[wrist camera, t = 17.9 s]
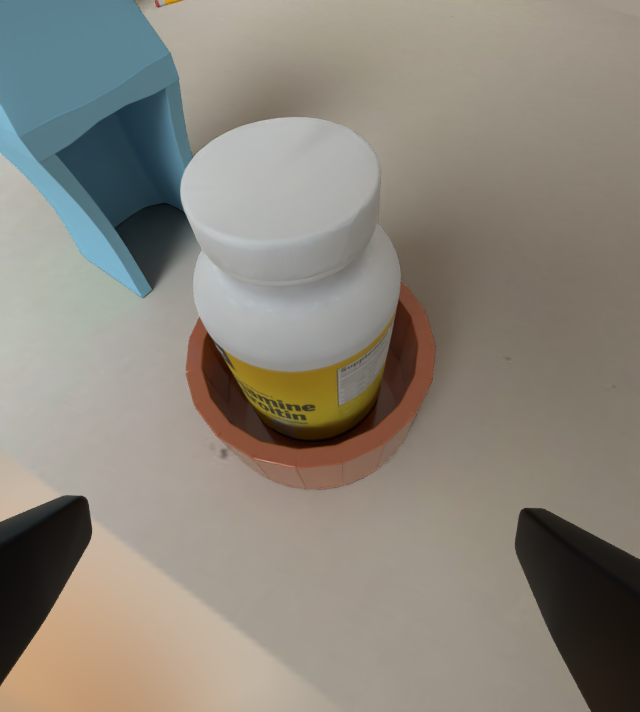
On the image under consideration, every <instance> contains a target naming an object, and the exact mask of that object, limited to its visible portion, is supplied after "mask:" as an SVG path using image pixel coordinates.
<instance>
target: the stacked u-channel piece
mask: <svg viewBox="0 0 640 712" xmlns="http://www.w3.org/2000/svg"><path fill="white" fill-rule="evenodd" d="M0 153H1V154H2V155H3V156H5V157H6V158H7V159H8V160H9V161H10V162H11V163H12V164H13V165H14V166H15V167H16V168H17V169H18V170H19V171H20V172H21V173H23V174H24V175H25V176H26V177H27V179H28V180H29V181H30V182H31V183H32V184H33V185H34V186H35V187H36V188H37V189H38V190H39V191H40V192H41V194H42V195H43V196H44V197H45V199H46V200H47V201H48V202H49V204H50V205H51V206H52V207H53V209H54V210H55V211H56V213H57V214H58V216H59V217H60V219H61V220H62V222H63V223H64V225H65V226H66V228H67V230H68V231H69V233H70V235H71V236H72V238H73V240H74V242H75V244H76V245H77V247H78V249H79V251H80V252H81V254H82V255H83V256H84V257H85V258H87V259H88V260H89V261H91V262H92V263H93V264H95V265H96V266H98V267H99V268H100V269H102V270H103V271H105V272H106V273H108V274H109V275H110V276H112V277H113V278H115V279H116V280H118V281H119V282H120V283H122V284H123V285H125V286H126V287H127V288H129V289H130V290H132V291H133V292H135V293H136V294H137V295H139V296H140V297H142V298H143V297H144V296H146V295H147V294H148V293H149V292H150V291H152V289H151V287H150V285H149V284H148V282H147V280H146V279H145V277H144V275H143V273H142V272H141V270H140V268H139V267H138V265H137V263H136V262H135V260H134V258H133V257H132V255H131V254H130V252H129V250H128V249H127V247H126V246H125V244H124V242H123V241H122V239H121V238H120V236H119V235H118V233H117V232H116V230H115V229H114V228H115V227H116V226H118V225H119V224H120V223H122V222H123V221H124V220H126V219H127V218H129V217H130V216H131V215H133V214H134V213H136V212H137V211H139V210H141V209H143V208H145V207H147V206H151V205H155V204H160V203H168V204H170V205H172V206H174V207H176V208H178V209H180V210H182V211H183V212H185V211H184V208H183V205H182V202H181V194H180V187H181V179H182V177H183V174H184V172H185V169H186V167H187V166H188V164H189V163H190V161H191V160H192V159H193V156H192V153H191V149H190V145H189V141H188V136H187V132H186V126H185V120H184V114H183V107H182V99H181V92H180V84H179V76H178V73H177V70H176V67H175V65H174V62H173V59H172V56H171V53H170V52H169V50H168V49H167V48H166V46H165V45H164V43H163V42H162V40H161V39H160V37H159V36H158V35H157V33H156V32H155V30H154V29H153V27H152V26H151V25H150V23H149V22H148V20H147V19H146V17H145V16H144V14H143V13H142V12H141V10H140V8H139V7H138V5H137V4H136V2H135V1H134V0H0Z"/></svg>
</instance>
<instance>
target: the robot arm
mask: <svg viewBox="0 0 640 712" xmlns="http://www.w3.org/2000/svg"><path fill="white" fill-rule="evenodd" d="M91 535H92V525H91V518H90V511H89V504H88V500H87V499H86V498H85V497H84V496H72V495H66V496H61V497H59V498H57V499H54V500H52V501H49V502H47V503H45V504H42V505H40V506H37V507H35V508H32V509H30V510H28V511H26V512H23V513H21V514H18V515H16V516H13V517H11V518H9V519H6V520H4V521H1V522H0V686H1V684H2V683H3V681H4V680H5V678H6V677H7V675H8V674H9V672H10V671H11V670H12V668H13V667H14V665H15V664H16V662H17V661H18V659H19V658H20V656H21V655H22V653H23V652H24V650H25V649H26V648H27V646H28V644H29V643H30V642H31V640H32V639H33V637H34V636H35V634H36V633H37V631H38V630H39V628H40V627H41V625H42V624H43V622H44V621H45V619H46V617H47V616H48V614H49V612H50V611H51V609H52V607H53V606H54V604H55V602H56V600H57V599H58V597H59V595H60V593H61V592H62V590H63V588H64V586H65V584H66V583H67V581H68V579H69V578H70V576H71V574H72V572H73V571H74V569H75V567H76V565H77V563H78V562H79V560H80V558H81V556H82V554H83V553H84V551H85V549H86V548H87V546H88V544H89V542H90V539H91ZM515 550H516V554H517V557H518V559H519V562H520V564H521V566H522V569H523V571H524V573H525V576H526V578H527V580H528V583H529V585H530V588H531V590H532V592H533V595H534V597H535V599H536V602H537V604H538V607H539V609H540V611H541V614H542V616H543V618H544V621H545V623H546V625H547V627H548V630H549V632H550V634H551V636H552V638H553V640H554V642H555V644H556V646H557V648H558V650H559V652H560V654H561V656H562V658H563V660H564V661H565V663H566V665H567V667H568V669H569V671H570V673H571V675H572V676H573V678H574V680H575V682H576V684H577V686H578V688H579V690H580V692H581V693H582V695H583V697H584V699H585V701H586V703H587V705H588V707H589V709H590V710H591V712H640V559H638V558H636V557H634V556H632V555H630V554H629V553H627V552H625V551H623V550H621V549H619V548H617V547H615V546H613V545H612V544H610V543H608V542H606V541H604V540H602V539H600V538H598V537H596V536H595V535H593V534H591V533H589V532H587V531H585V530H583V529H581V528H579V527H578V526H576V525H574V524H572V523H570V522H568V521H566V520H564V519H563V518H561V517H559V516H557V515H555V514H553V513H551V512H549V511H547V510H545V509H542V508H524V509H522V510H521V512H520V514H519V519H518V526H517V532H516V538H515Z"/></svg>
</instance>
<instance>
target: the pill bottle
mask: <svg viewBox="0 0 640 712" xmlns="http://www.w3.org/2000/svg"><path fill="white" fill-rule="evenodd" d="M380 183H381V170H380V165H379V161H378V158H377V155H376V153H375V152H374V150H373V148H372V147H371V146H370V144H368V143H367V141H366V140H365V139H364V138H362V137H361V136H360V135H359V134H357V133H355V132H354V131H352V130H350V129H349V128H347V127H344V126H342V125H340V124H337V123H333V122H330V121H326V120H322V119H317V118H309V117H284V118H275V119H268V120H262V121H258V122H254V123H250V124H246V125H243V126H240V127H237V128H235V129H233V130H230V131H228V132H226V133H224V134H222V135H221V136H219V137H217V138H215V139H214V140H212V141H211V142H209V143H208V144H207V145H206V146H205V147H203V148H202V149H201V150H200V151H199V152H198V153H197V154H196V155H195V156H194V157H193V159H192V160H191V161H190V163H189V164H188V166H187V167H186V169H185V172H184V174H183V177H182V179H181V187H180V194H181V202H182V205H183V208H184V211H185V213H186V216H187V218H188V220H189V223H190V225H191V227H192V230H193V232H194V234H195V237H196V239H197V242H198V243H199V245H200V247H201V248H202V250H201V252H200V254H199V256H198V259H197V263H196V266H195V271H194V277H193V295H194V300H195V305H196V308H197V311H198V314H199V316H200V319H201V321H202V323H203V325H204V326H205V328H206V330H207V332H208V334H209V335H210V337H211V339H212V340H213V342H214V343H215V345H216V347H217V349H218V350H219V352H220V353H221V355H222V356H223V358H224V360H225V361H226V363H227V365H228V366H229V368H230V370H231V371H232V373H233V375H234V376H235V378H236V380H237V382H238V383H239V385H240V387H241V388H242V390H243V392H244V393H245V395H246V397H247V399H248V400H249V402H250V404H251V406H252V407H253V409H254V411H255V412H256V414H257V415H258V417H259V418H260V419H261V420H262V422H263V423H264V424H265V425H266V426H267V427H269V428H270V429H271V430H272V431H274V432H275V433H277V434H278V435H280V436H282V437H284V438H286V439H289V440H292V441H296V442H300V443H309V444H317V443H325V442H330V441H333V440H336V439H339V438H341V437H343V436H345V435H347V434H349V433H351V432H352V431H354V430H355V429H356V428H357V427H359V426H360V425H361V424H362V423H363V422H364V421H365V419H366V418H367V417H368V416H369V414H370V413H371V411H372V410H373V408H374V406H375V404H376V401H377V398H378V396H379V391H380V387H381V382H382V377H383V372H384V367H385V363H386V358H387V353H388V348H389V344H390V339H391V334H392V329H393V324H394V319H395V315H396V310H397V304H398V299H399V294H400V283H401V271H400V265H399V260H398V256H397V253H396V251H395V248H394V246H393V244H392V242H391V240H390V239H389V237H388V235H387V234H386V233H385V231H384V230H383V229H382V227H381V226H380V225H379V224H378V223H377V221H378V215H379V203H380Z"/></svg>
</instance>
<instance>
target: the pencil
mask: <svg viewBox="0 0 640 712" xmlns="http://www.w3.org/2000/svg"><path fill="white" fill-rule="evenodd" d="M179 1H182V0H155V4H156V6H157V7H161V6H165V5H168V4H172V3H175V2H179Z"/></svg>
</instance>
